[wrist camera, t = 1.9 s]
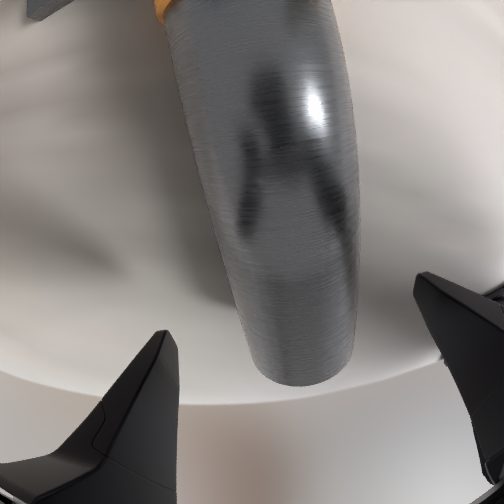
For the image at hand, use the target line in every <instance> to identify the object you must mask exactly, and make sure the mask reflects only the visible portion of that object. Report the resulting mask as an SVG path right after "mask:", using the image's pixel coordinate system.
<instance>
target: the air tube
mask: <svg viewBox="0 0 504 504" xmlns="http://www.w3.org/2000/svg"><path fill="white" fill-rule="evenodd" d="M154 5H155V11H156V16H157V19H158V21H159V22H160V23H161V24H162V25H164V26H165V28H166V33H167V38H168V43H169V48H170V53H171V57H172V62H173V66H174V71H175V76H176V80H177V85H178V89H179V93H180V98H181V102H182V106H183V111H184V115H185V119H186V123H187V127H188V131H189V136H190V140H191V144H192V148H193V152H194V156H195V160H196V164H197V167H198V171H199V175H200V179H201V183H202V187H203V191H204V194H205V198H206V202H207V206H208V209H209V213H210V217H211V220H212V224H213V228H214V231H215V235H216V238H217V242H218V245H219V249H220V252H221V256H222V259H223V263H224V266H225V270H226V273H227V277H228V280H229V284H230V287H231V290H232V294H233V297H234V300H235V304H236V307H237V310H238V314H239V317H240V320H241V323H242V327H243V330H244V333H245V336H246V339H247V343H248V346H249V349H250V352H251V355H252V358H253V361H254V363H255V365H256V367H257V368H258V370H259V371H260V372H261V373H262V374H263V375H265V376H266V377H267V378H269V379H271V380H272V381H274V382H277V383H279V384H283V385H288V386H309V385H314V384H318V383H321V382H323V381H325V380H328V379H330V378H331V377H333V376H334V375H336V374H337V373H338V372H339V371H341V370H342V368H343V367H344V366H345V365H346V364H347V362H348V360H349V359H350V356H351V354H352V350H353V343H354V334H355V325H356V314H357V301H358V286H359V266H360V191H359V171H358V156H357V144H356V133H355V124H354V115H353V107H352V100H351V93H350V86H349V80H348V74H347V69H346V63H345V58H344V53H343V48H342V43H341V39H340V34H339V30H338V26H337V22H336V18H335V14H334V10H333V7H332V3H331V0H154Z"/></svg>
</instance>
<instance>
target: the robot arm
mask: <svg viewBox="0 0 504 504" xmlns="http://www.w3.org/2000/svg"><path fill="white" fill-rule="evenodd" d="M413 295H414V298H415V301H416V303H417V305H418V307H419V309H420V312H421V314H422V316H423V318H424V321H425V323H426V325H427V327H428V329H429V331H430V333H431V335H432V337H433V339H434V341H435V343H436V344H437V346H438V348H439V350H440V352H441V354H442V356H443V358H444V364H445V365H446V366H448V368H449V370H450V372H451V374H452V376H453V378H454V380H455V383H456V385H457V387H458V389H459V391H460V394H461V396H462V398H463V401H464V403H465V406H466V408H467V410H468V413H469V415H470V418H471V421H472V422H471V423H472V427H473V432H474V436H475V440H476V444H477V449H478V453H479V457H480V463H481V467H482V473H483V475H484V476H485V477H486V479H487V481H488V482H489V483H490V484H492V485H495V486H494V487H492V488H491V489H490V490H488V491H487V492H486V493H484V494H483V495H482V496H480V497H479V498H477V499H476V500H475V501H473V502H472V503H470V504H504V287H503V288H501V289H499V290H498V291H496V292H494V293H492V294H490V295H488V296H486V297H484V296H482V295H480V294H477V293H475V292H473V291H471V290H469V289H466V288H464V287H462V286H460V285H457V284H455V283H453V282H450V281H448V280H446V279H443V278H441V277H439V276H436V275H434V274H432V273H429V272H426V271H425V272H422V273H419V274H417V276H416V279H415V284H414V290H413ZM178 407H179V364H178V348H177V345H176V343H175V341H174V339H173V338H172V336H171V334H170V332H169V331H168V330H160V331H156V332H155V333H154V335H153V336H152V337H151V338H150V340H149V341H148V342H147V343H146V344H145V346H144V347H143V348H142V349H141V351H140V352H139V353H138V354H137V355H136V357H135V358H134V359H133V360H132V362H131V363H130V364H129V365H128V367H127V368H126V369H125V370H124V372H123V373H122V374H121V375H120V377H119V378H118V379H117V380H116V382H115V383H114V384H113V385H112V387H111V388H110V389H109V390H108V392H107V393H106V394H105V395H104V397H103V398H102V401H100V402H99V403H98V404H97V406H96V407H95V408H94V409H93V411H92V412H91V413H90V414H89V415H88V417H87V418H86V419H85V420H84V421H83V422H82V423H81V424H80V426H79V427H78V428H77V429H76V430H75V431H74V432H73V433H72V434H71V435H70V436H69V437H68V438H67V439H66V440H65V442H64V443H63V444H62V445H61V446H60V447H59V448H58V449H57V450H55V451H54V452H52V453H50V454H48V455H45V456H41V457H36V458H32V459H27V460H22V461H17V462H11V463H0V487H1V488H2V489H4V490H5V491H7V492H8V493H10V494H11V495H13V499H12V498H10V497H8V496H6V495H4V494H2V493H0V504H177V496H176V494H177V493H176V460H177V458H176V457H177V427H178Z"/></svg>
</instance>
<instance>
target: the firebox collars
mask: <svg viewBox="0 0 504 504" xmlns="http://www.w3.org/2000/svg"><path fill="white" fill-rule="evenodd" d="M72 1H74V0H27V17H29V18H33V19H36V20H40V21H41V20H43V19H44V18H46V17H47V16H49V15H50V14H52V13H54V12H55V11H57V10H58V9H60V8H62V7H63V6H65V5H67V4H68V3H70V2H72Z"/></svg>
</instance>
